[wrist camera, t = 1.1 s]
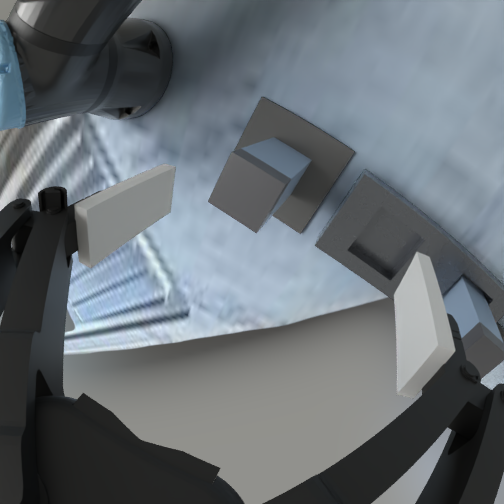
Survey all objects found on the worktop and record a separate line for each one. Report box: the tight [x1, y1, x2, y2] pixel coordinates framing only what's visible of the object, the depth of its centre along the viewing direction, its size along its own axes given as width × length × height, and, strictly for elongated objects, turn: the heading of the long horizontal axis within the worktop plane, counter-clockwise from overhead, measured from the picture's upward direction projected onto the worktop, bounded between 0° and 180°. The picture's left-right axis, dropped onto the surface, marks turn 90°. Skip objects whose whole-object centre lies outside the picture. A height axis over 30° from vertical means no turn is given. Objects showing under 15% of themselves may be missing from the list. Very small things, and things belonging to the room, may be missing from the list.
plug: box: [208, 137, 312, 233], centre depth 30 cm, size 5×5×12 cm
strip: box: [315, 169, 504, 343], centre depth 33 cm, size 32×10×4 cm, turn 62°
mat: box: [234, 97, 355, 233], centre depth 36 cm, size 12×12×1 cm
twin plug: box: [442, 274, 504, 378], centre depth 28 cm, size 5×5×12 cm
